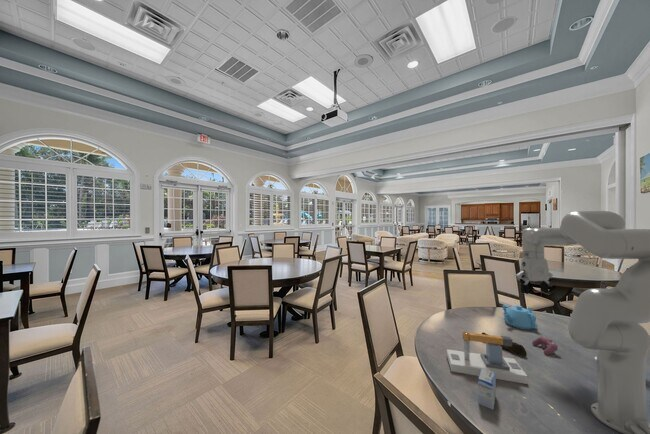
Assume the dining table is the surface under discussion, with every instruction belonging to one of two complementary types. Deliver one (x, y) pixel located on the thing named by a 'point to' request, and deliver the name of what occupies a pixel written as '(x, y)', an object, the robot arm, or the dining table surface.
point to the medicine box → (487, 388)
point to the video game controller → (544, 342)
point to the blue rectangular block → (494, 353)
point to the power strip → (484, 365)
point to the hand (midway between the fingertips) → (534, 292)
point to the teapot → (519, 317)
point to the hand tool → (515, 348)
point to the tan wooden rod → (487, 338)
